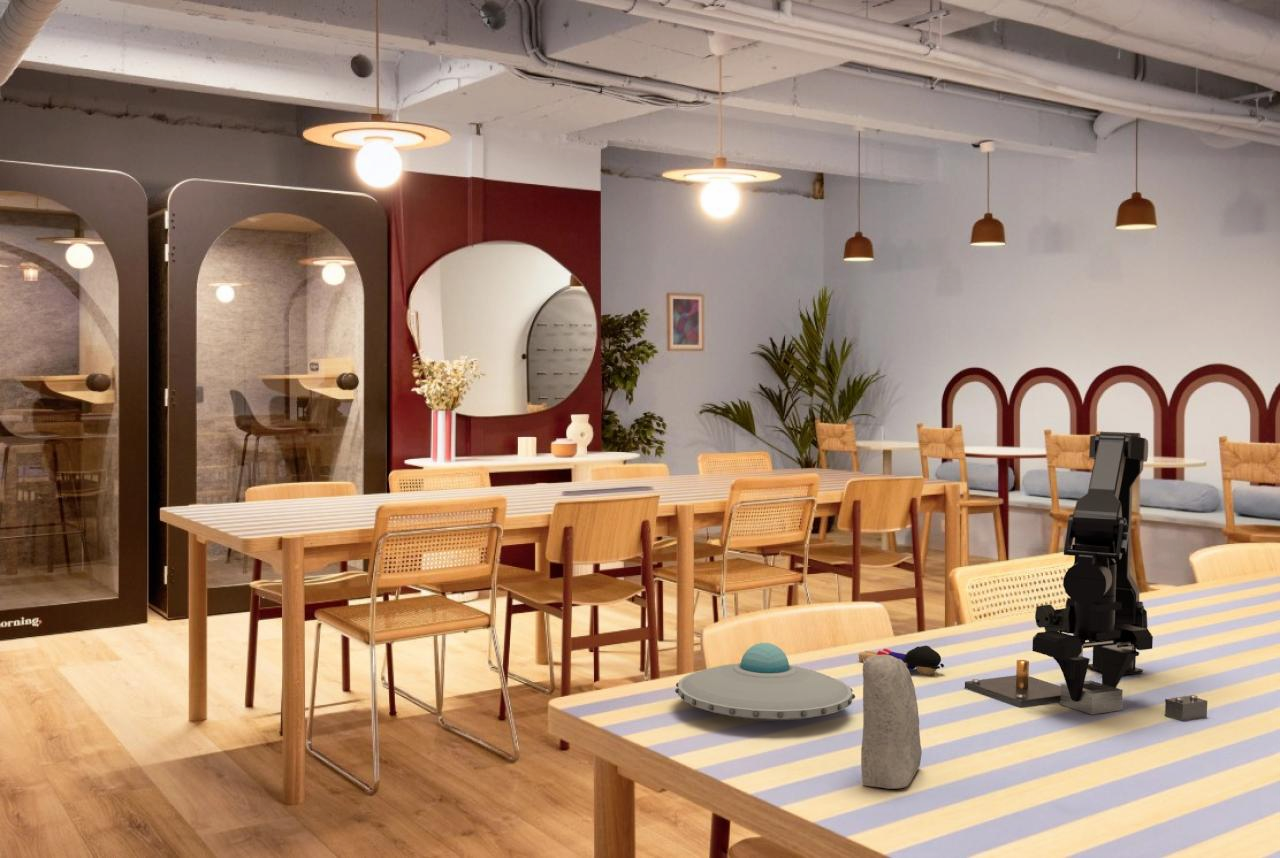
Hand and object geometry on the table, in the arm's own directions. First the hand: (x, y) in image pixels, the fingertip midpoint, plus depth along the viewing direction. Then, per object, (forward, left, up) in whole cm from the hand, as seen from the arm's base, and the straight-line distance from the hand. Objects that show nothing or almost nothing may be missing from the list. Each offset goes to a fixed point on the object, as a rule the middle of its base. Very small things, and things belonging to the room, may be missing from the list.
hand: (1091, 698), depth 178 cm
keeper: (+4, -10, -1) cm, 11 cm away
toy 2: (+11, -30, -2) cm, 32 cm away
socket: (0, 0, -1) cm, 1 cm away
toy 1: (+46, -17, -2) cm, 49 cm away
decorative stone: (+46, +13, -2) cm, 48 cm away
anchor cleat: (-9, +9, -1) cm, 13 cm away
